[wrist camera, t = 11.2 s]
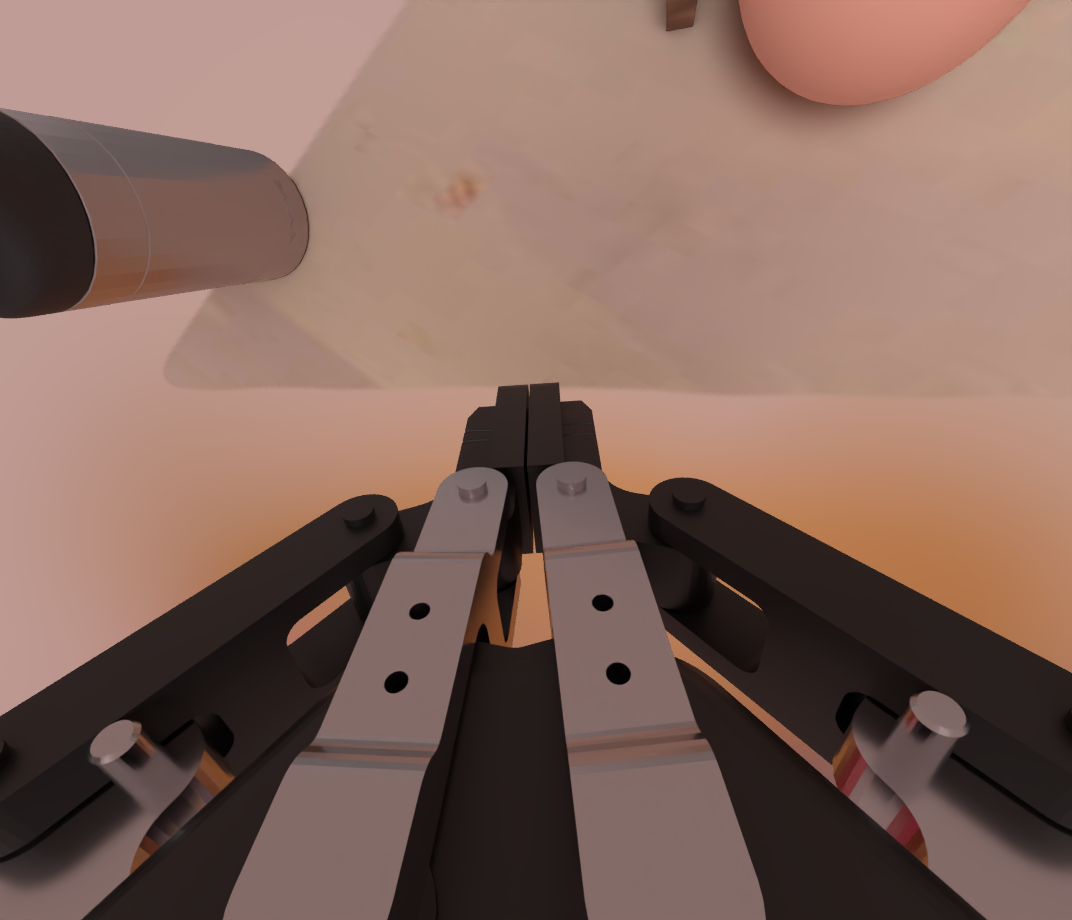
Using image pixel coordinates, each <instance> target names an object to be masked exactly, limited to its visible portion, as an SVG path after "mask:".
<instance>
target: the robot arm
mask: <svg viewBox="0 0 1072 920" xmlns="http://www.w3.org/2000/svg"><path fill="white" fill-rule="evenodd" d="M307 240H308V222H307V216H306V210H305V207H304V204H303V201H302V198H301V196H300V194H299V192H298V190H297V188H296V186H295V185H294V183H293V182H292V180H291V179H290V178H289V176H288V175H287V174H286V172H285V171H284V170H283V169H281V168H280V167H279V166H278V165H277V164H276V163H275V162H274V161H272V160H270V159H269V158H267V157H266V156H264V155H262V154H259V153H257V152H253V151H250V150H244V149H238V148H232V147H226V146H221V145H215V144H210V143H205V142H198V141H192V140H187V139H181V138H175V137H169V136H164V135H158V134H152V133H146V132H140V131H134V130H128V129H123V128H117V127H111V126H105V125H99V124H93V123H87V122H82V121H76V120H70V119H64V118H58V117H52V116H44V115H38V114H32V113H27V112H21V111H14V110H9V109H3V108H0V318H25V317H33V316H39V315H45V314H52V313H58V312H64V311H71V310H77V309H84V308H90V307H97V306H103V305H110V304H114V303H121V302H127V301H134V300H140V299H147V298H153V297H160V296H166V295H173V294H179V293H186V292H192V291H199V290H205V289H212V288H218V287H225V286H231V285H239V284H246V283H252V282H259V281H265V280H272V279H277V278H280V277H283V276H286V275H287V274H289V273H290V272H291V271H293V270H294V269H295V268H296V266H297V265H298V264H299V263H300V261H301V259H302V257H303V255H304V253H305V250H306V245H307ZM559 392H560V391H559V382H557V383H542V384H530V396H529V389H528V385H514V386H499V387H498V393H497V399H496V406H490V407H479V408H478V409H477V410H476V411H475V412H474V413H473V414H472V415H471V416H470V417H469V418H468V420H467V425H466V429H465V434H464V438H463V443H462V446H461V451H460V455H459V460H458V464H457V469H456V472H455V473H453V474H451V475H450V476H448V477H447V478H446V479H445V480H444V481H443V482H442V483H441V484H440V486H439V488H438V490H437V493H436V496H435V498H434V500H432V501H430V502H428V503H425V504H422V505H419V506H416V507H412V508H409V509H404V510H401V511H398V508H397V505H396V503H395V502H394V501H393V500H392V499H390V498H389V497H386V496H383V495H376V494H373V495H372V494H371V495H362V496H358V497H355V498H352V499H349V500H346V501H344V502H343V503H341V504H339V505H337V506H336V507H334V508H332V509H331V510H329V511H328V512H326V513H324V514H323V515H321V516H320V517H318V518H316V519H315V520H313V521H312V522H310V523H308V524H307V525H305V526H304V527H302V528H300V529H299V530H297V531H296V532H294V533H292V534H291V535H289V536H288V537H286V538H284V539H283V540H282V541H280V542H278V543H277V544H275V545H274V546H272V547H270V548H269V549H267V550H265V551H264V552H262V553H261V554H259V555H257V556H256V557H254V558H253V559H251V560H249V561H248V562H246V563H245V564H243V565H241V566H240V567H238V568H237V569H235V570H233V571H232V572H230V573H229V574H227V575H225V576H224V577H222V578H221V579H219V580H218V581H216V582H214V583H213V584H211V585H209V586H208V587H206V588H205V589H203V590H201V591H200V592H198V593H197V594H195V595H194V596H192V597H190V598H189V599H187V600H186V601H184V602H182V603H181V604H179V605H177V606H176V607H174V608H173V609H171V610H170V611H168V612H167V613H165V614H163V615H162V616H160V617H158V618H157V619H155V620H153V621H152V622H150V623H149V624H147V625H146V626H144V627H142V628H141V629H139V630H137V631H136V632H134V633H133V634H131V635H130V636H128V637H126V638H125V639H123V640H122V641H120V642H118V643H117V644H115V645H114V646H112V647H111V648H109V649H107V650H106V651H104V652H102V653H101V654H99V655H98V656H96V657H94V658H93V659H91V660H90V661H88V662H86V663H85V664H83V665H82V666H80V667H78V668H77V669H75V670H74V671H72V672H70V673H69V674H67V675H66V676H64V677H62V678H61V679H60V680H58V681H56V682H54V683H53V684H51V685H50V686H48V687H46V688H45V689H43V690H42V691H40V692H38V693H37V694H35V695H34V696H32V697H31V698H29V699H27V700H26V701H24V702H22V703H21V704H19V705H18V706H16V707H14V708H13V709H11V710H10V711H8V712H7V713H5V714H3V715H2V716H0V920H1072V673H1071V672H1069V671H1067V670H1065V669H1063V668H1061V667H1059V666H1058V665H1055V664H1054V663H1052V662H1050V661H1048V660H1046V659H1044V658H1042V657H1040V656H1038V655H1036V654H1034V653H1032V652H1031V651H1029V650H1027V649H1025V648H1023V647H1021V646H1019V645H1017V644H1016V643H1014V642H1012V641H1010V640H1008V639H1006V638H1004V637H1002V636H1000V635H998V634H996V633H995V632H992V631H991V630H989V629H987V628H985V627H983V626H981V625H979V624H977V623H976V622H974V621H972V620H970V619H968V618H966V617H964V616H962V615H960V614H958V613H956V612H954V611H953V610H951V609H949V608H947V607H945V606H943V605H941V604H939V603H937V602H935V601H933V600H932V599H929V598H928V597H926V596H924V595H922V594H920V593H918V592H916V591H915V590H913V589H911V588H909V587H907V586H905V585H903V584H901V583H899V582H897V581H895V580H893V579H891V578H890V577H888V576H886V575H884V574H882V573H880V572H878V571H876V570H875V569H873V568H871V567H869V566H867V565H865V564H863V563H861V562H859V561H857V560H855V559H854V558H851V557H850V556H848V555H846V554H844V553H842V552H840V551H838V550H836V549H834V548H833V547H831V546H829V545H827V544H825V543H823V542H821V541H819V540H817V539H815V538H814V537H811V536H810V535H807V534H806V533H804V532H802V531H800V530H798V529H796V528H795V527H793V526H791V525H789V524H787V523H785V522H783V521H781V520H779V519H777V518H775V517H774V516H772V515H770V514H768V513H766V512H764V511H762V510H760V509H758V508H756V507H754V506H753V505H751V504H749V503H747V502H745V501H743V500H741V499H739V498H737V497H735V496H733V495H732V494H729V493H728V492H726V491H724V490H722V489H720V488H718V487H716V486H714V485H713V484H710V483H708V482H706V481H703V480H699V479H693V478H673V479H669V480H666V481H663V482H661V483H659V484H658V485H656V486H655V487H654V488H653V489H652V491H651V493H650V495H644V494H638V493H633V492H628V491H625V490H622V489H620V488H618V487H616V486H614V485H613V484H611V483H610V482H609V481H608V480H607V477H606V475H605V474H604V472H603V471H602V468H601V462H600V456H599V451H598V445H597V439H596V434H595V427H594V421H593V415H592V410H591V409H590V408H589V407H588V406H587V405H586V404H584V403H583V402H582V401H568V402H567V401H566V402H560V393H559ZM533 530H534V537H535V546H536V553H543V560H544V570H545V582H546V590H547V600H548V609H549V618H550V628H551V637H552V639H550V640H546V641H542V642H539V643H535V644H531V645H528V646H524V647H520V648H512V645H513V637H514V630H515V623H516V616H517V608H518V601H519V594H520V586H521V578H520V570H521V565H522V554H529V553H533ZM717 577H718V578H719V579H721V580H722V581H724V582H725V583H727V584H728V585H730V586H731V587H733V588H734V589H736V590H737V591H739V592H740V593H742V594H743V595H745V596H746V597H748V598H749V599H751V600H752V601H753V602H755V603H756V604H757V605H758V606H759V607H760V608H761V609H762V610H763V611H762V610H760V609H759V608H757V607H756V606H754V605H753V604H751V603H750V602H748V601H747V600H745V599H744V598H742V597H741V596H739V595H738V594H736V593H735V592H733V591H732V590H730V589H729V588H727V587H726V586H724V585H723V584H721V583H720V582H719V581H717V580H716V578H717ZM345 585H346V587H347V590H348V592H349V595H350V597H351V598H350V599H349V600H348V601H346V602H345V603H344V604H343V605H341V606H340V607H339V608H337V609H336V610H335V611H333V612H332V613H331V614H329V615H328V616H327V617H326V618H324V619H323V620H322V621H320V622H319V623H318V624H316V625H315V626H314V627H313V628H311V629H310V630H309V631H308V632H306V633H305V634H304V635H302V636H301V637H300V638H298V639H297V640H296V641H294V642H293V643H292V644H290V645H289V646H287V644H286V642H287V636H288V634H289V632H290V630H291V629H292V627H293V626H294V624H296V623H297V622H298V621H299V620H300V619H301V618H303V617H304V616H305V615H307V614H308V613H309V612H311V611H312V610H313V609H314V608H316V607H317V606H319V605H320V604H321V603H323V602H324V601H325V600H327V599H328V598H329V597H331V596H332V595H333V594H334V593H336V592H337V591H339V590H340V589H341V588H343V587H344V586H345ZM665 630H667V631H668V632H669V633H670V634H671V635H673V636H674V637H675V638H676V639H678V640H679V641H680V642H681V643H682V644H684V645H685V646H686V647H687V648H689V649H690V650H691V651H693V652H694V653H695V654H696V655H697V656H698V657H700V658H701V659H702V660H703V661H705V662H706V663H707V664H708V665H709V666H711V667H712V668H713V669H714V670H716V671H717V672H718V673H720V674H721V675H722V676H723V677H724V678H726V679H727V680H728V681H729V682H730V683H732V684H733V685H734V686H735V687H737V688H738V689H739V690H740V691H742V692H743V693H744V694H745V695H746V696H748V697H749V698H750V699H751V700H753V701H754V702H755V703H756V704H758V705H759V706H760V707H761V708H762V709H764V710H765V711H766V712H767V713H769V714H770V715H771V716H772V717H774V718H775V719H776V720H777V721H779V722H780V723H781V724H782V725H784V726H785V727H786V728H787V729H788V730H790V731H791V732H792V733H793V734H795V735H796V736H797V737H798V738H799V739H801V740H802V741H803V742H804V743H806V744H807V745H808V746H809V747H811V748H812V749H813V750H814V751H815V752H817V753H818V754H819V755H820V756H822V757H823V758H824V759H825V760H827V761H828V762H829V763H830V764H831V765H832V768H833V776H834V779H835V783H836V786H837V787H836V786H834V785H833V784H832V783H831V782H830V781H829V780H828V779H826V778H825V777H824V776H823V775H822V774H821V773H820V772H819V771H817V770H816V769H815V768H814V767H813V766H811V764H809V763H808V762H807V761H806V760H805V759H804V758H803V757H801V756H800V755H799V754H798V753H797V752H796V751H794V750H793V749H792V748H791V747H790V746H789V745H788V744H787V743H786V742H784V741H783V740H782V739H781V738H780V737H778V735H776V734H775V733H774V732H773V731H772V730H771V729H769V728H768V727H767V726H766V725H765V724H764V723H763V722H762V721H760V720H759V719H758V718H757V717H756V716H755V715H754V714H752V713H751V712H750V711H749V710H748V709H747V708H746V707H745V706H743V705H742V704H741V703H740V702H739V701H738V700H736V699H735V698H734V697H733V696H732V695H731V694H730V693H728V692H727V691H726V690H725V689H724V688H723V687H722V686H721V685H719V684H718V683H717V682H715V680H713V679H712V678H711V677H709V676H708V675H706V674H705V673H704V672H702V671H701V670H699V669H698V668H696V667H694V666H692V665H690V664H689V663H687V662H685V661H683V660H680V659H678V658H676V657H674V655H673V652H672V649H671V646H670V643H669V640H668V637H667V634H666V631H665Z"/></svg>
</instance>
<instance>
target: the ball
mask: <svg viewBox="0 0 1072 920" xmlns="http://www.w3.org/2000/svg"><path fill="white" fill-rule="evenodd" d="M738 1H739V7H740V12H741V17H742V22H743V25H744V28H745V31H746V34H747V37H748V40H749V42H750V44H751V46H752V48H753V50H754V52H755V54H756V56H757V58H758V59H759V61H760V62H761V63H762V65H763V66H764V68H765V69H766V70H767V71H768V72H769V73H770V74H771V75H772V76H773V77H774V78H775V79H776V80H777V81H778V82H779V83H780V84H781V85H783V86H784V87H786V88H787V89H789V90H790V91H792V92H793V93H795V94H797V95H800V96H802V97H805V98H807V99H809V100H812V101H815V102H820V103H826V104H832V105H844V106H848V105H863V104H870V103H875V102H879V101H883V100H887V99H891V98H895V97H898V96H901V95H903V94H906V93H908V92H911V91H913V90H915V89H918V88H920V87H922V86H925V85H927V84H928V83H930V82H932V81H934V80H936V79H937V78H939V77H941V76H943V75H945V74H946V73H948V72H950V71H951V70H953V69H954V68H956V67H957V66H959V65H960V64H962V63H963V62H964V61H966V60H967V59H969V58H970V57H972V56H973V55H974V54H976V53H977V52H978V51H979V50H980V49H981V48H983V47H984V46H985V45H986V44H987V43H989V42H990V41H991V40H992V39H993V38H995V37H996V36H997V35H998V34H999V33H1000V32H1001V31H1002V30H1003V29H1004V28H1005V27H1006V26H1007V25H1008V24H1009V23H1010V22H1011V21H1012V20H1013V19H1014V18H1015V17H1016V16H1017V15H1018V14H1019V13H1020V12H1021V11H1022V10H1023V9H1024V8H1025V7H1026V5H1027V4H1028V3H1029V2H1030V1H1031V0H738Z"/></svg>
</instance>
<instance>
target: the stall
mask: <svg viewBox="0 0 1072 920" xmlns="http://www.w3.org/2000/svg"><path fill="white" fill-rule="evenodd" d="M696 6H697V0H667V23H666V31H670V30H676V29H681V28H687V27H692V26H693V23H694V17H695V11H696Z"/></svg>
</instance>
